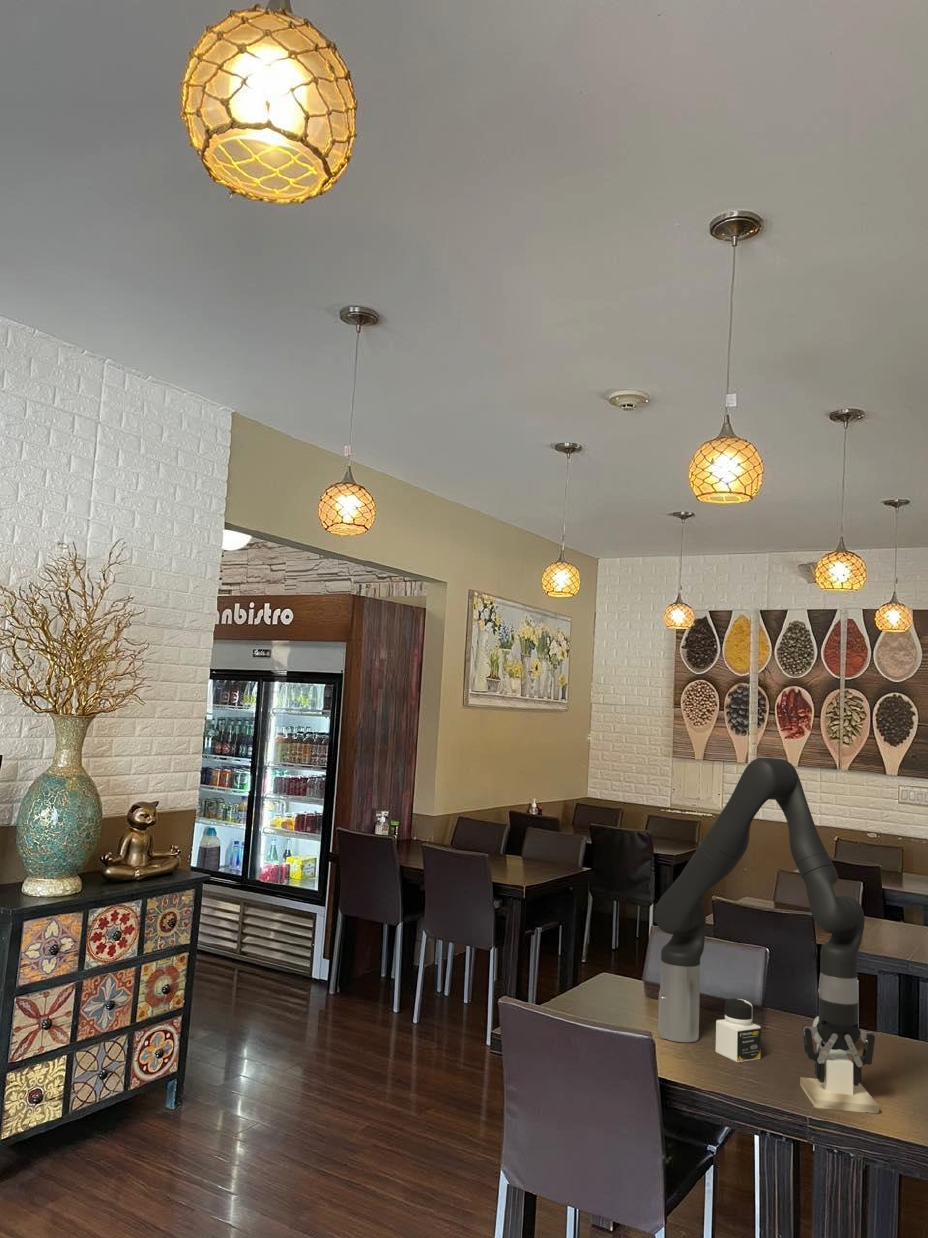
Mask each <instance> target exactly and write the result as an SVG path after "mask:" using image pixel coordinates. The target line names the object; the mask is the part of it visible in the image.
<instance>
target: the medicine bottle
mask: <svg viewBox="0 0 928 1238" xmlns="http://www.w3.org/2000/svg"><path fill="white" fill-rule="evenodd" d="M753 1008H754V1007H753V1004H752V1003H751V1002H749V1001H748V1000H745V999H742V998H729V999H727V1000H726V1001H725V1002H724V1019H717V1020H716V1022H715V1052H716V1053H717V1054H719V1055H721V1056H723V1057H725V1058H727V1059H729V1060H730V1061H733V1062H736V1063H743V1062H749V1061H750V1062H751V1061H755V1060H760V1059H761V1058H762V1057H761V1055H762V1054H761V1052H762V1051H761V1048H762V1047H761V1046H762V1027H761V1026H760V1025H758V1024H756V1023H753Z"/></svg>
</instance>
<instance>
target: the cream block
mask: <svg viewBox="0 0 928 1238" xmlns="http://www.w3.org/2000/svg"><path fill="white" fill-rule="evenodd" d="M823 1063H824V1083H820V1084H821V1085H822V1086H823V1088H824V1089H825V1090H826V1092H827V1093H836V1094H847V1095H853V1062H852V1061H851V1059H850V1058H849V1057H848V1055H847V1056H846V1055H838V1054H828V1055H827V1056H826V1058H825V1060H824V1062H823Z"/></svg>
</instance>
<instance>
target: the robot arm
mask: <svg viewBox="0 0 928 1238" xmlns="http://www.w3.org/2000/svg"><path fill="white" fill-rule="evenodd" d="M768 800H770V801H773V800H774V801H776V803H777V804H778V806H779V807H780V809H781V811H782V812H783V814H784V817H785V820H786V822H787V827H788V828H787V829H788V840H789V848H790V849H789V850H790V852H791V856H792V859H793V861H794V863H795V865H796V868H797V869H798V872H799V875H800V876H801V878H802V880H803V883H804V885H805V890H806V896H807V900H808V905H809V908H810V912H811V915H812V918H813V920H814V922H815V923H816V925H817V926H818V927H819V928H820V929H821V931H822V930H823V931H824V932H826V933H828V934H831V936H830V938H829V940H828V941H827V942H825V943H824V944H822V945H821V949H820V955H819V956H820V957H819V958H820V959H819V960H820V962H819V963H820V964H819V966H820V967H819V968H820V973H819V981H818V990H817V991H818V992H817V993H818V1016H819V1022H818V1024H817V1026H816V1027H812V1026H808V1025H807V1024H804V1025H803V1026H802V1027H801V1028H802V1036H803V1045H804V1053H805V1055H806V1056H807V1058H808V1059H809V1060H812V1061H814V1076H815V1079H818V1080H819V1082H820V1083H824V1063H823V1062H824V1060H825V1058H826V1056H827V1055H828V1054H829V1052H830V1050H831V1049H832V1050H838V1049H841V1050H843V1051H848V1052H849V1053H850V1054H849V1056H850V1058H851V1060H852V1061H853V1062H852V1063H853V1085H854V1086H858V1085H859V1083H860V1084H861V1083H862V1081H863V1079H862V1078H863V1077H862V1074H863V1073H862V1068H863V1067H864V1066H866V1065H867V1066H870V1065H872V1063H873V1057H874V1049H875V1041H876V1037H875V1034H873V1033H872V1032H871V1031H870V1030H866V1031H865V1030H860V1028H859V984H858V953H859V950H860V946H861V943H862V938H863V935H864V930H865V914H864V913H865V912H864V909H863V907H862V905H861V904H860V902H859V901H858V900H857V899H855V897H851V896H848V895H840V896H836V894H835V890H834V885H836V883H837V882H838V880H839V875H838V872H837V869H836V867H835V865H834V863H833V861H832V859H831V857H830V856H829V854H828V852H827V849H826V847H825V845H824V843H823V841H822V839H821V836H820V834H819V832H818V830H817V827H816V824H815V822H814V819H813V814H812V812H811V809H810V807H809V804H808V801H807V798H806V795H805V791H804V789H803V784H802V782H801V779H800V776H799V774H798V772H797V769H796V768H795V766H794V765H793V764H792V762H791V763H790V761H787V760H785V759H782V758H773V757H772V758H770V757H758V758H755V759H753V760H752V761H750V762H749V763H748V765H747V766H745V769H744V770H743V773H742V774H741V775H740V778H739V780H738V782H737V784H736V786H735V788H734V790H733V792H732V794H731V795H730V797H729V799H728V801H727V802H726V804H725V806H724V807H723V809H722V810H721V812H720V813H719V815H718V816H717V818H716V820H715V821H714V823H713V824H712V826H711V827H710V828H709V830H708V831H707V833H706V834H705V836H704V837H703V839H702V840H701V842H700V843H699V845H698V847H697V849H696V850H695V852H694V853H693V855H692V857H690V860H688V862H687V864H686V865H685V867H684V868H683V870H682V871H681V873H680V875H678V876H677V878H676V879H675V880H674V881H673V883H672V884H671V885H670V886H669V888H668V889H667V890H666V891H665V892H664V894H663V895H661V896H660V899H659V900H658V901H657V904H656V906H655V912H654V919H655V923H656V925H657V927H658V928H659V929H660V930H661V932H664V933H666V934H669V935H671V938H670V939H669V941H668V942H667V943H666V944H665V945H664V946H662V948H661V952H660V977H659V978H660V986H659V991H658V1014H657V1016H658V1018H657V1019H658V1021H657V1031H658V1035H659V1038H660V1039H662V1040H663V1039H664V1040H668V1041H672V1042H678V1043H694V1042H697V1041H698V1040H699V1036H700V1035H699V1033H700V1028H699V1027H700V1026H699V1025H700V987H701V985H700V984H701V983H700V981H701V957H702V955H703V953H704V949H705V938H706V927H707V926H706V925H707V923H706V922H707V921H706V920H707V919H706V917H707V916H706V915H707V914H706V908H705V906H704V903H703V901H702V899H701V898H702V897H703V896H704V894H706V893H707V892H708V891H709V890H711V889H712V888H713V887H715V886H716V885H718V884H719V883H721V881H723V880H724V879H725V878H726V877H727V876H728V875H730V874H731V873H732V872H733V870H734V869H735V868H736V866H737V865H738V864H739V862H740V861H741V859H742V858H743V856H744V855H745V853H746V851H747V849H748V846H749V842H750V834H751V825H752V823H753V820H754V818H755V816H756V815H757V814H758V812H759V810H760V809H761V808H762V807H763V805H764V804H765V803H766V802H768ZM816 1033H818V1034H819V1035H820V1037H821V1038H822V1039H821V1041H820V1043H819V1045H818V1049H817V1048H816V1052H815V1051H814V1043H813V1040H814V1038H815V1034H816ZM860 1037H861V1041H862V1042H863V1045H862V1046H863V1047H862V1054H861V1056H860V1054H859V1052H858V1050H857V1047H856V1046H855V1044H856V1043H857V1042H858V1040H859V1039H860Z"/></svg>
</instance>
